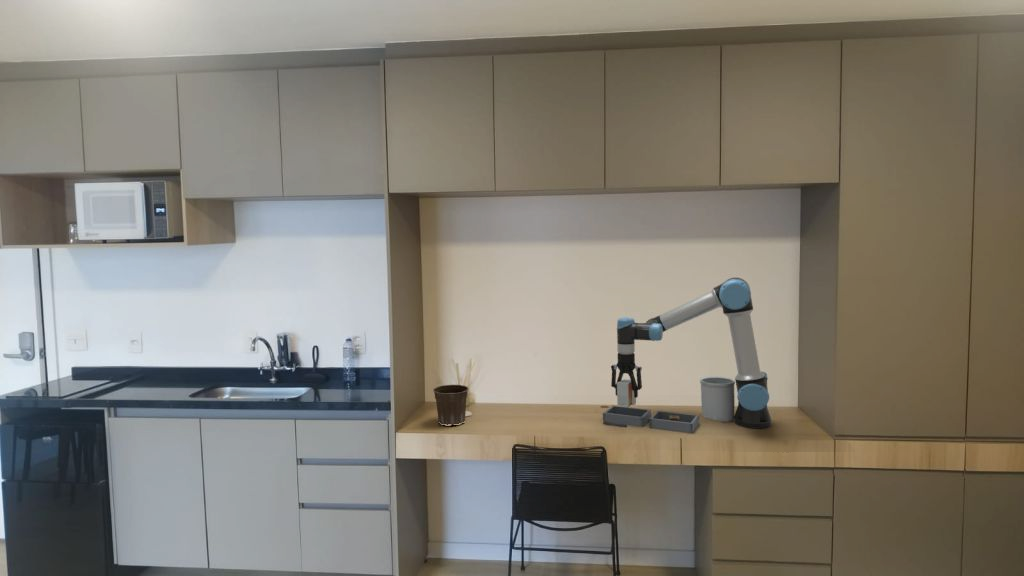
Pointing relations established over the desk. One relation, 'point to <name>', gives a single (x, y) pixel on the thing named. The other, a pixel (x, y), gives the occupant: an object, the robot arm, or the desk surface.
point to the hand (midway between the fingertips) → (626, 403)
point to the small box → (624, 393)
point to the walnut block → (674, 418)
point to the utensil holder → (718, 398)
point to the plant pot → (451, 403)
